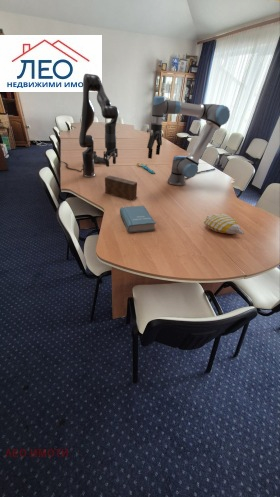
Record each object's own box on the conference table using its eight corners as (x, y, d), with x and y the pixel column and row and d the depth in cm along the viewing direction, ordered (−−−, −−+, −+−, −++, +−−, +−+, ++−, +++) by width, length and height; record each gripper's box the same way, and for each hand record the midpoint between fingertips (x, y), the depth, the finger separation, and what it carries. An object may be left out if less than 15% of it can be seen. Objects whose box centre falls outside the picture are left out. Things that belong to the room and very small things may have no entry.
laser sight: (105, 165, 227) (104, 155, 221) (84, 162, 230) (83, 152, 224) (108, 162, 235) (108, 152, 229) (88, 160, 238) (87, 150, 232)
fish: (254, 225, 128) (232, 232, 118) (249, 236, 132) (228, 244, 123) (221, 208, 144) (199, 213, 134) (217, 218, 149) (196, 224, 139)
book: (154, 230, 131) (155, 222, 128) (128, 232, 126) (128, 225, 124) (143, 212, 148) (143, 205, 145) (119, 214, 144) (120, 207, 141)
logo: (136, 163, 238) (136, 163, 238) (145, 163, 241) (145, 162, 240) (146, 174, 213) (146, 173, 212) (155, 173, 215) (155, 172, 215)
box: (105, 192, 171) (104, 177, 164) (109, 190, 175) (109, 175, 168) (132, 200, 162) (133, 184, 155) (136, 197, 167) (137, 182, 160)
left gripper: (111, 138, 156) (112, 162, 166) (99, 141, 146) (100, 166, 155) (120, 139, 154) (120, 163, 163) (109, 143, 143) (109, 168, 153)
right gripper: (154, 126, 140) (151, 160, 152) (168, 122, 158) (164, 154, 171) (143, 124, 142) (141, 158, 155) (159, 121, 161) (156, 152, 173)
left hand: (110, 165), depth 159 cm, fingers open, 8 cm apart
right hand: (153, 156), depth 163 cm, fingers open, 13 cm apart
